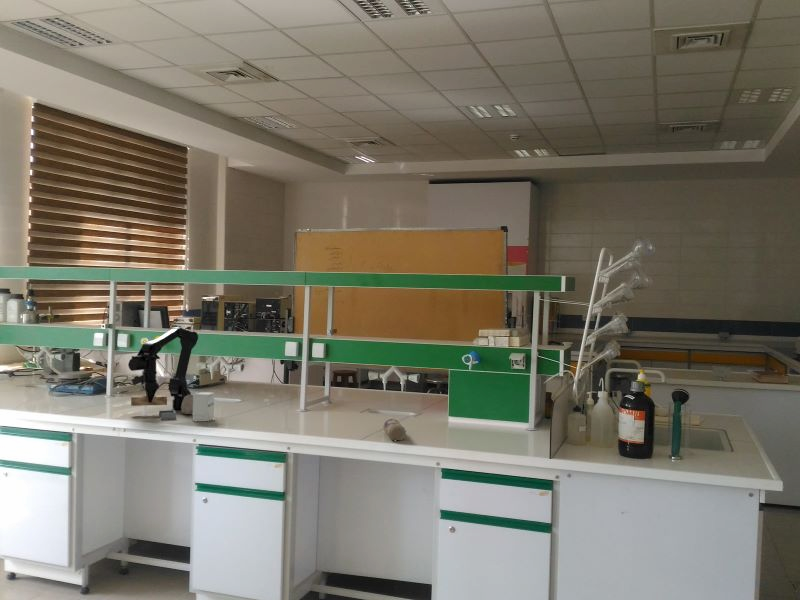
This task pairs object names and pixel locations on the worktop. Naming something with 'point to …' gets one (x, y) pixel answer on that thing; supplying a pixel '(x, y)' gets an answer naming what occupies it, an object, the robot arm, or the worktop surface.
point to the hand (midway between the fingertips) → (149, 401)
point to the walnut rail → (144, 401)
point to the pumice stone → (187, 405)
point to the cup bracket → (167, 414)
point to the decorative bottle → (394, 429)
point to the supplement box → (203, 406)
